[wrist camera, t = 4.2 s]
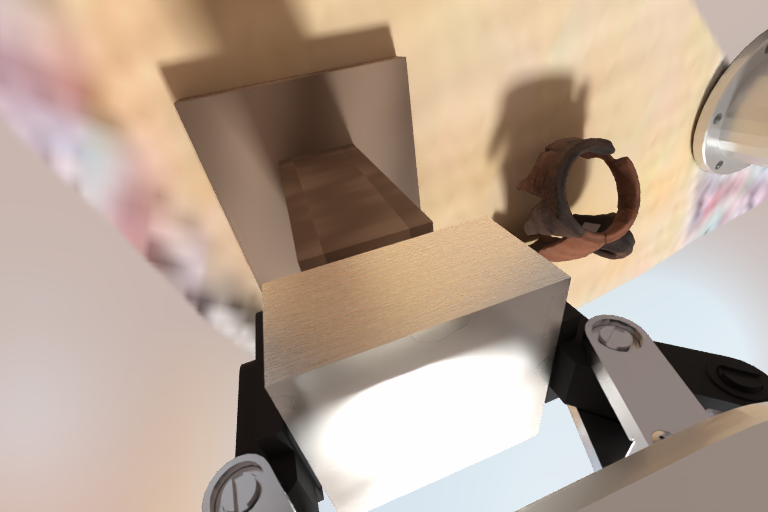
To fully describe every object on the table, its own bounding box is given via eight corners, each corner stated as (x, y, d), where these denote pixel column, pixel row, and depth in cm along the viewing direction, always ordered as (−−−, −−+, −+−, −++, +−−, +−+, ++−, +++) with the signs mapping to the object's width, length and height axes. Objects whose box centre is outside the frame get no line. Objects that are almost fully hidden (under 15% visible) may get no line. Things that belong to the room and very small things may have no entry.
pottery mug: (461, 237, 29) (528, 228, 21) (497, 138, 30) (574, 95, 22) (567, 287, 32) (661, 297, 24) (596, 196, 33) (695, 177, 25)
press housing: (396, 56, 19) (548, 65, 9) (415, 233, 26) (516, 349, 16) (179, 99, 17) (71, 171, 7) (261, 279, 24) (265, 447, 14)
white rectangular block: (367, 129, 19) (570, 277, 7) (383, 222, 22) (537, 434, 10) (259, 154, 18) (264, 387, 6) (293, 248, 21) (343, 522, 9)
